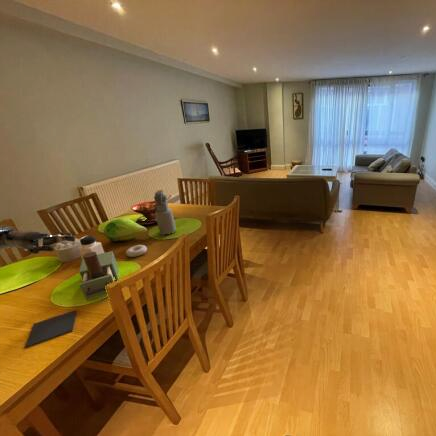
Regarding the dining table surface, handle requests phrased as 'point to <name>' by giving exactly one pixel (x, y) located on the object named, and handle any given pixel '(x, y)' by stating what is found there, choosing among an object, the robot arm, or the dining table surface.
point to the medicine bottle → (90, 246)
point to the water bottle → (163, 214)
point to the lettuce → (123, 230)
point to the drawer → (96, 283)
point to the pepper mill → (93, 265)
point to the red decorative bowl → (146, 212)
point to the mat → (51, 328)
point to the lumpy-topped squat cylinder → (68, 250)
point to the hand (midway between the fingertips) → (63, 243)
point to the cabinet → (102, 263)
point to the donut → (136, 251)
